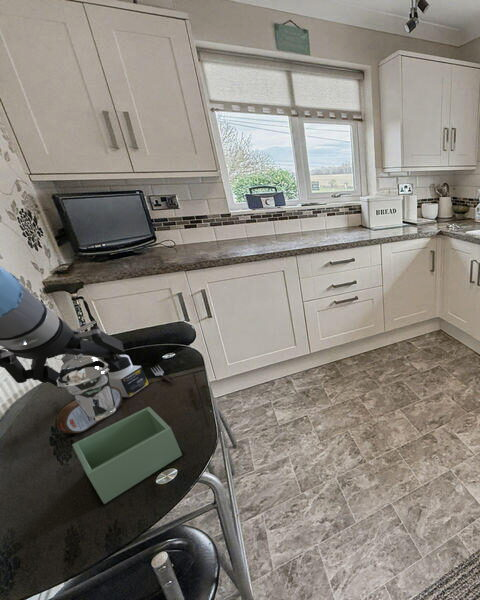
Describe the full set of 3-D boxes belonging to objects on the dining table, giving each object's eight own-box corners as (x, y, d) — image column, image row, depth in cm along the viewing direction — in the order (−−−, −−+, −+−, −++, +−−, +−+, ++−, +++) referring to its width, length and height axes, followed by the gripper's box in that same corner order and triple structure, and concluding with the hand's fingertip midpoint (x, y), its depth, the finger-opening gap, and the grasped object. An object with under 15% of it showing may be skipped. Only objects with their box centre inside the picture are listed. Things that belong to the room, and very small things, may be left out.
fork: (168, 386, 105) (166, 381, 104) (152, 373, 114) (150, 368, 113) (177, 382, 107) (175, 377, 106) (160, 369, 116) (158, 364, 115)
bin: (87, 471, 74) (71, 444, 72) (160, 431, 85) (148, 406, 82) (104, 504, 66) (86, 475, 63) (182, 455, 76) (170, 428, 73)
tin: (120, 402, 99) (109, 379, 96) (128, 403, 98) (117, 379, 95) (64, 440, 85) (48, 414, 82) (73, 441, 85) (58, 415, 82)
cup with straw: (77, 414, 71) (36, 332, 65) (128, 395, 77) (95, 317, 70) (76, 433, 65) (30, 344, 59) (132, 411, 71) (96, 327, 64)
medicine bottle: (129, 397, 101) (113, 364, 97) (110, 397, 102) (94, 364, 98) (149, 384, 107) (135, 352, 103) (131, 383, 109) (117, 352, 105)
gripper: (-72, 376, 46) (23, 411, 64) (117, 328, 57) (153, 369, 75) (-74, 331, 48) (19, 377, 67) (108, 293, 59) (145, 341, 77)
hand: (90, 373), depth 71 cm, fingers closed on cup with straw, 8 cm apart
